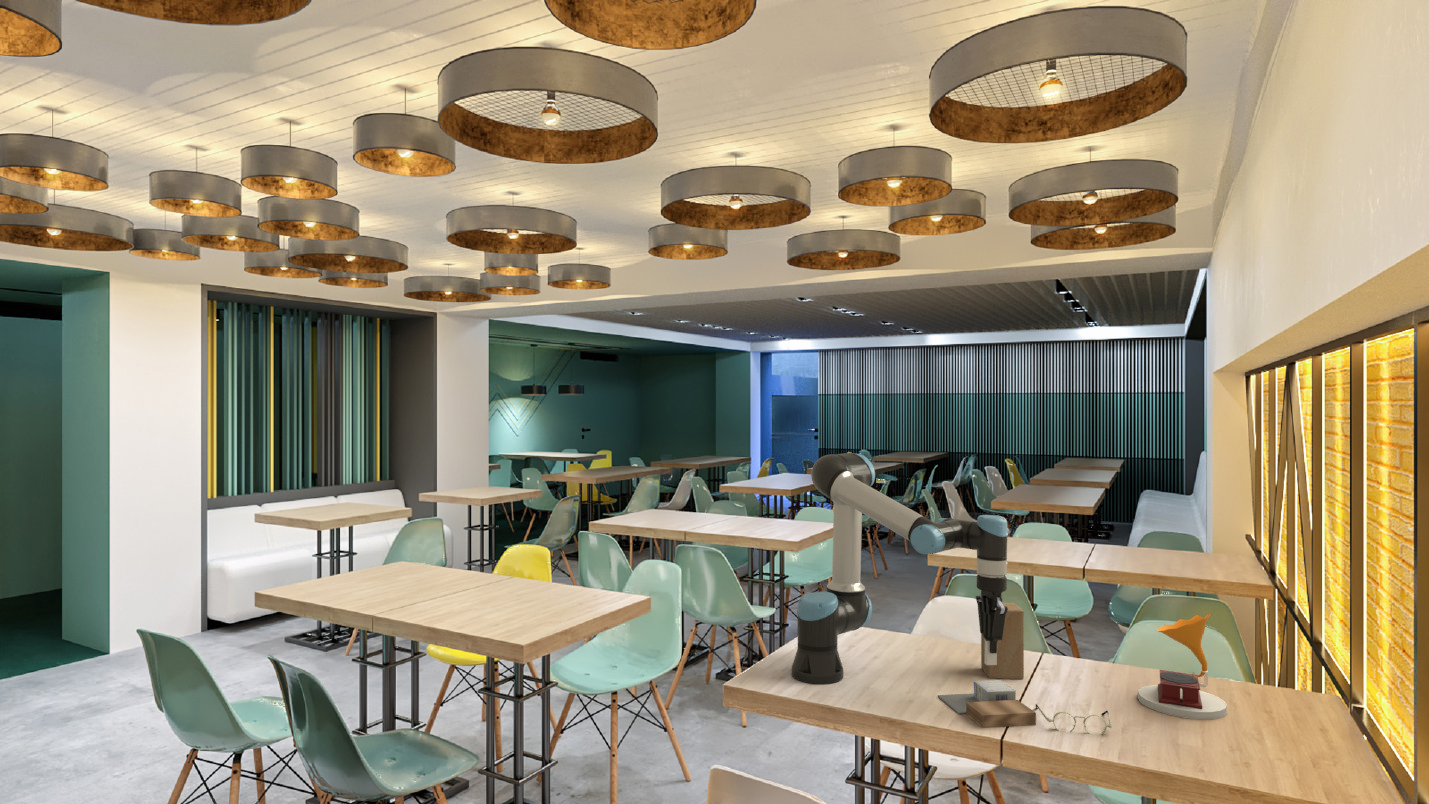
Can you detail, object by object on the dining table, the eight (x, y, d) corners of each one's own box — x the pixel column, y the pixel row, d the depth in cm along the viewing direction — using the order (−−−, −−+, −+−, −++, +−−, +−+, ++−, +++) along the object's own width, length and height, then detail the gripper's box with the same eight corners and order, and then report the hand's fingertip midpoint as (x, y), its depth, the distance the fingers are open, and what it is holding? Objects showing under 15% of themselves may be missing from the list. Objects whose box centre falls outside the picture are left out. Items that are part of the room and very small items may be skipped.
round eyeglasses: (1042, 731, 197) (1042, 710, 197) (1034, 709, 212) (1034, 690, 212) (1118, 738, 193) (1118, 717, 193) (1104, 715, 207) (1104, 696, 207)
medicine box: (1016, 707, 210) (1001, 695, 219) (1016, 690, 210) (1001, 679, 219) (987, 708, 209) (973, 696, 218) (987, 691, 210) (973, 680, 218)
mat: (958, 714, 206) (958, 712, 206) (937, 696, 219) (937, 695, 219) (1020, 711, 209) (1021, 709, 209) (996, 693, 222) (996, 692, 222)
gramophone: (1223, 699, 218) (1223, 607, 218) (1230, 725, 200) (1230, 624, 200) (1138, 687, 228) (1138, 598, 228) (1137, 710, 210) (1137, 614, 210)
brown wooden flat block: (982, 727, 198) (982, 715, 198) (966, 714, 207) (966, 702, 207) (1035, 724, 200) (1035, 712, 200) (1017, 711, 209) (1017, 699, 209)
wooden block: (1014, 668, 243) (1014, 602, 243) (1024, 679, 233) (1024, 610, 234) (980, 667, 244) (980, 601, 244) (988, 678, 234) (988, 609, 235)
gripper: (1017, 579, 206) (1016, 671, 206) (993, 569, 219) (992, 656, 219) (990, 580, 205) (988, 672, 205) (967, 569, 218) (966, 656, 218)
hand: (990, 664), depth 212 cm, fingers closed
